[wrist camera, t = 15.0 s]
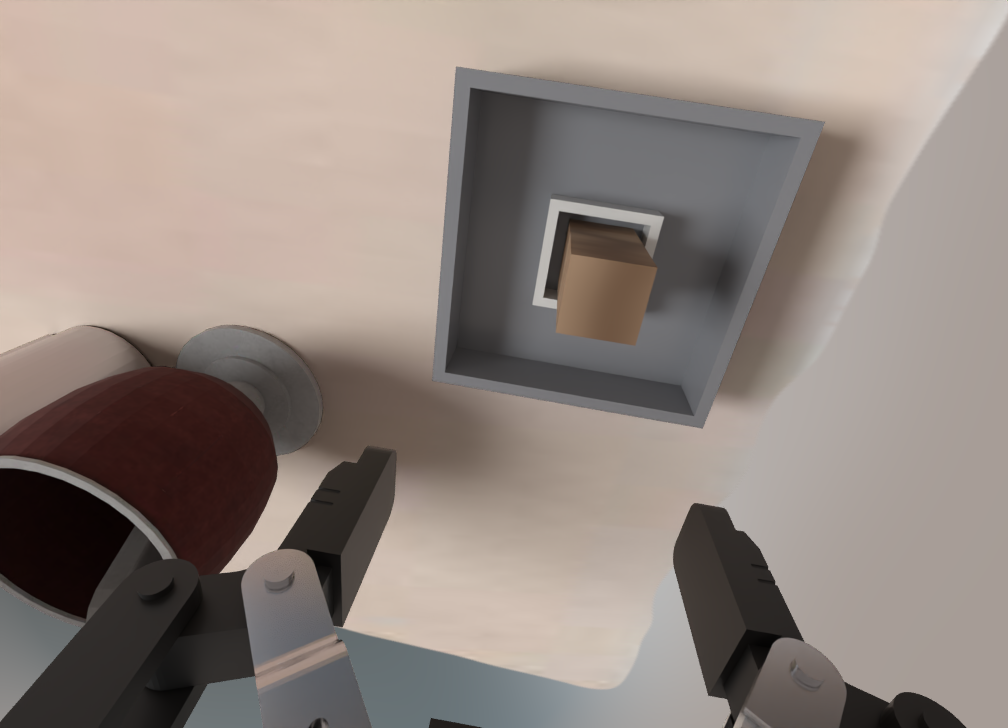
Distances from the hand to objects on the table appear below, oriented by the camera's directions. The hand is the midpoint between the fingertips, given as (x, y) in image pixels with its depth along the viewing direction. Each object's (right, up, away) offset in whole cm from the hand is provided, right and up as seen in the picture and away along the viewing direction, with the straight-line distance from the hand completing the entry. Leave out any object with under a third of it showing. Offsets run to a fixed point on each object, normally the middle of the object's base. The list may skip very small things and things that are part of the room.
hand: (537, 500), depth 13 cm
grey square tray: (+5, +11, +19) cm, 23 cm away
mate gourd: (-22, +1, +28) cm, 36 cm away
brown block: (+5, +11, +18) cm, 22 cm away
